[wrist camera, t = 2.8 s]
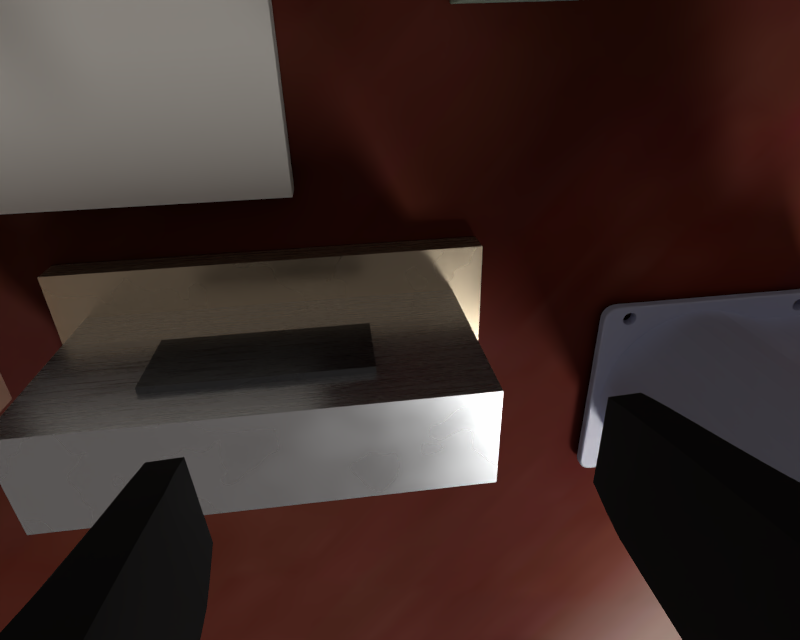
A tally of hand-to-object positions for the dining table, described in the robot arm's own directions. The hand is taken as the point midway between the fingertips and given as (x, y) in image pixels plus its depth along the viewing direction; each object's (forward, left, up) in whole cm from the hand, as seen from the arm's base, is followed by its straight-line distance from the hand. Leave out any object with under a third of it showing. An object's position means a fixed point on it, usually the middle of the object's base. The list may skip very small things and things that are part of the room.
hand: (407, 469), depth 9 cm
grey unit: (+3, +3, -10) cm, 11 cm away
